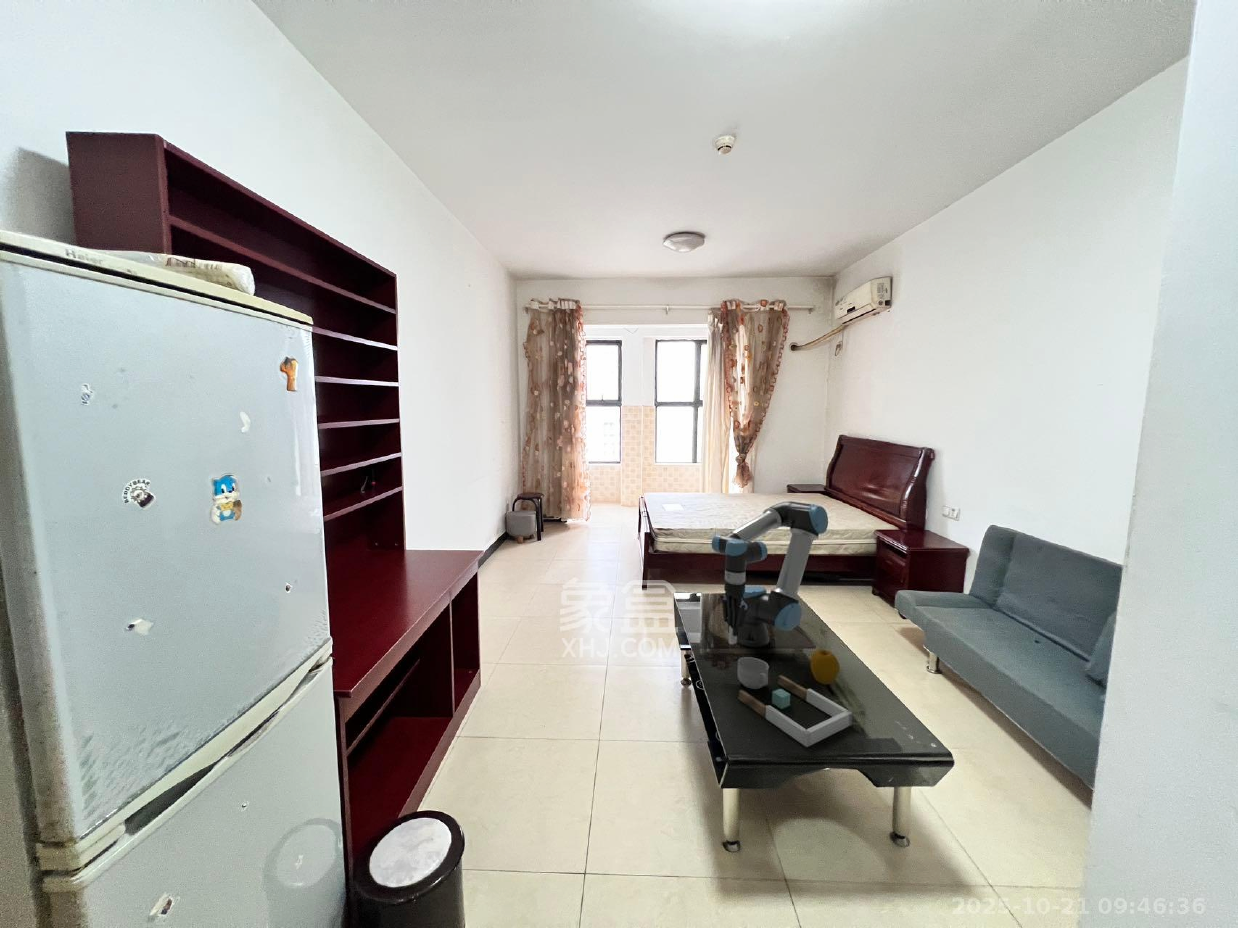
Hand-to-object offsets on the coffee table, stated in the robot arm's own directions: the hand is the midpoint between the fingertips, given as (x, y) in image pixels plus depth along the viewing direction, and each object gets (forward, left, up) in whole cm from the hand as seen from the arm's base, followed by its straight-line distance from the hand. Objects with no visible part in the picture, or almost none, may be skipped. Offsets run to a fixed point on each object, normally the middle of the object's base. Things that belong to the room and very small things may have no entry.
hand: (732, 642), depth 175 cm
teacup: (+11, 0, -12) cm, 16 cm away
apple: (+21, +25, -12) cm, 35 cm away
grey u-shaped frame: (+34, 0, -12) cm, 36 cm away
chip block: (+23, 0, -12) cm, 26 cm away
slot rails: (+20, 0, -12) cm, 23 cm away
